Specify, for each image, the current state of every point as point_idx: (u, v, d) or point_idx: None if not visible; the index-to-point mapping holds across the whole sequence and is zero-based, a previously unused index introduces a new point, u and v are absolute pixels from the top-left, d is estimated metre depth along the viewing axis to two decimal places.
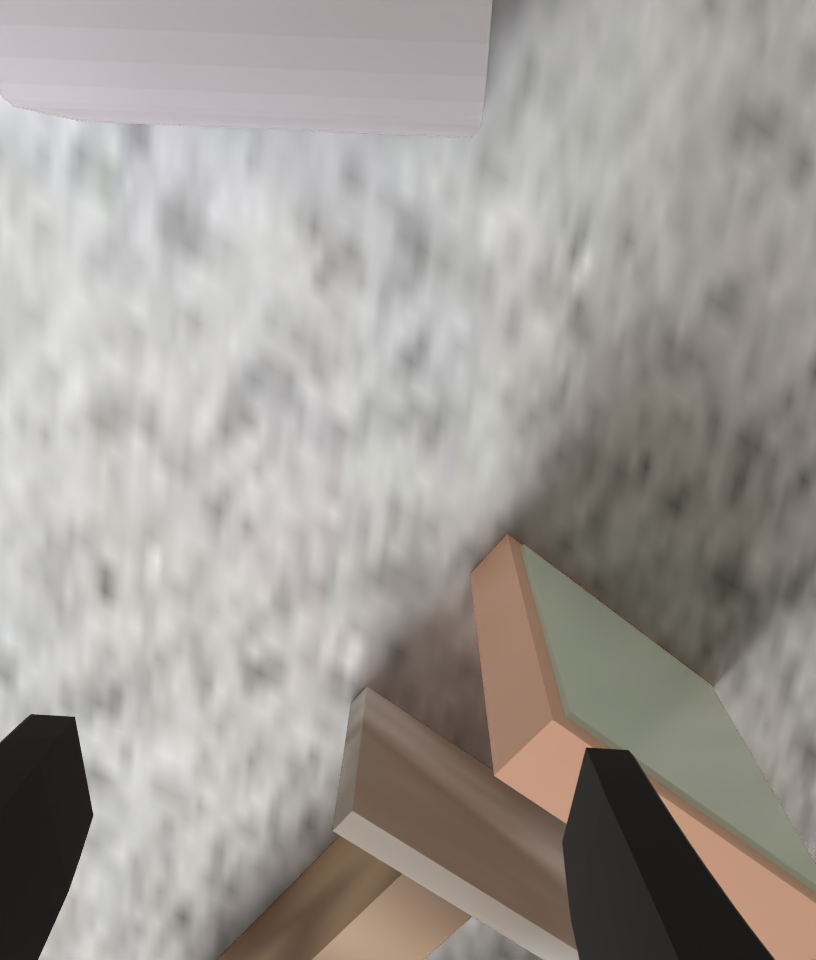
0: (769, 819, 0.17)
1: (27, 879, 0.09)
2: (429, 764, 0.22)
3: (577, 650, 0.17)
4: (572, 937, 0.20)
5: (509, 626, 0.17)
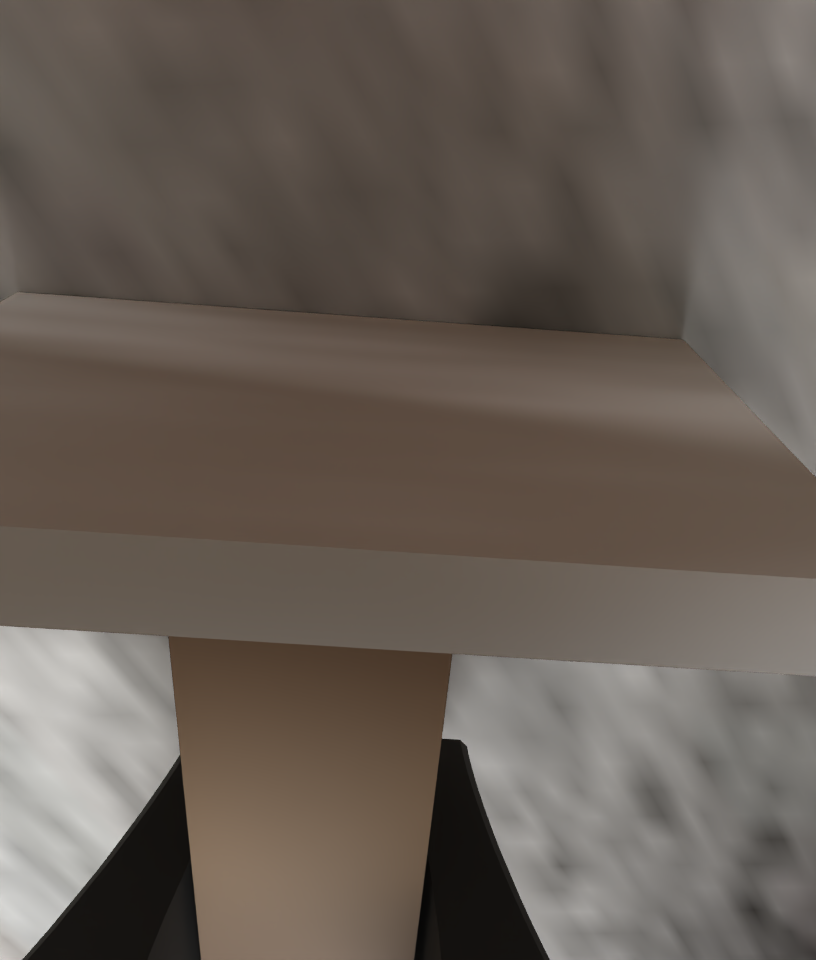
0: None
1: None
2: (181, 352, 0.08)
3: None
4: (767, 548, 0.05)
5: None
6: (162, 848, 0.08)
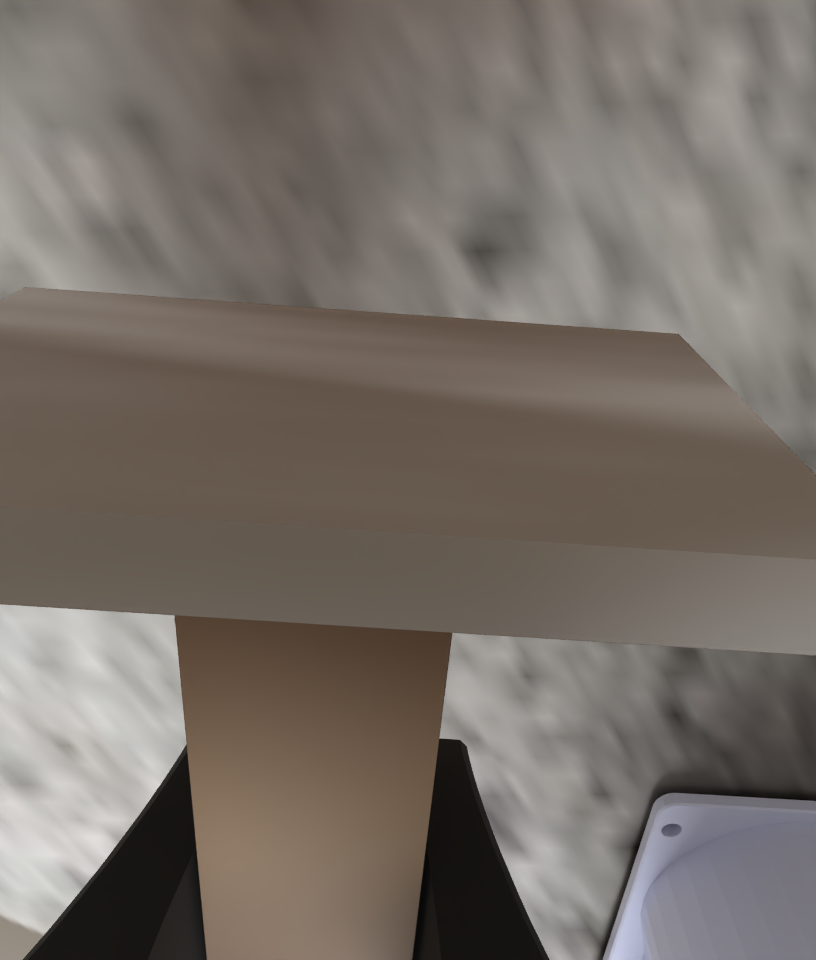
0: None
1: None
2: (186, 345, 0.08)
3: None
4: (756, 530, 0.05)
5: None
6: (162, 848, 0.08)
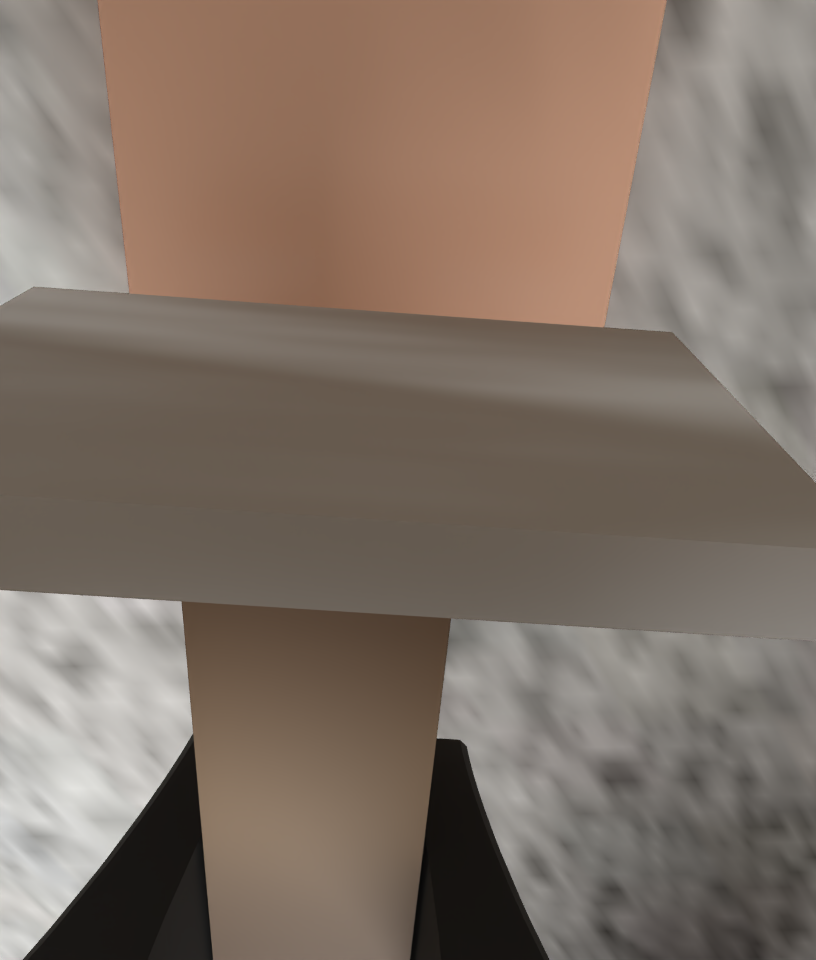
0: None
1: None
2: (192, 343, 0.08)
3: None
4: (742, 519, 0.06)
5: None
6: (162, 848, 0.08)
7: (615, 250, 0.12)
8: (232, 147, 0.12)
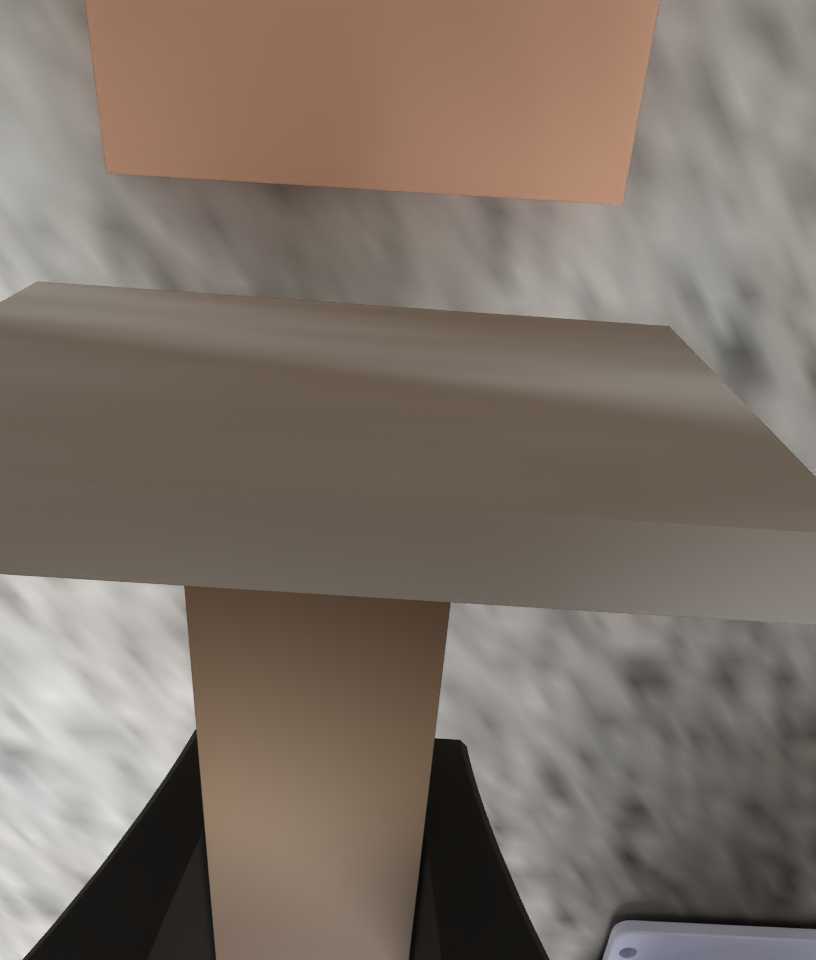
0: None
1: None
2: (194, 335, 0.08)
3: None
4: (736, 504, 0.06)
5: None
6: (162, 848, 0.08)
7: None
8: None
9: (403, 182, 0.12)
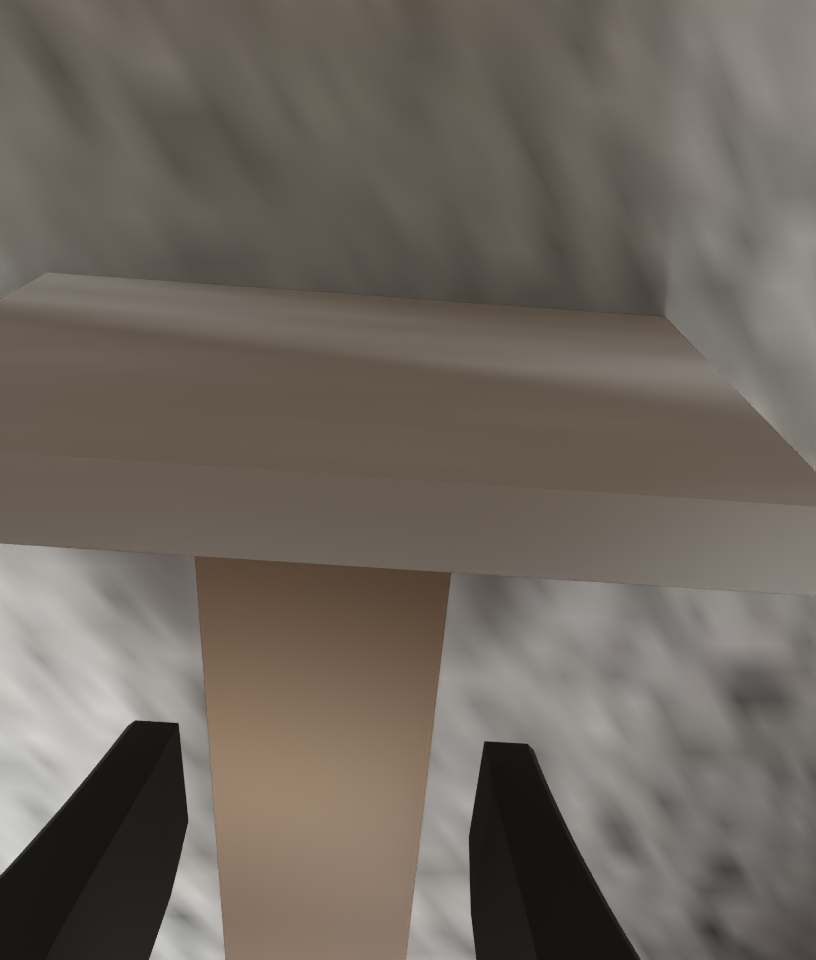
0: None
1: (142, 885, 0.09)
2: (203, 322, 0.09)
3: None
4: (722, 480, 0.06)
5: None
6: (77, 843, 0.08)
7: None
8: None
9: None
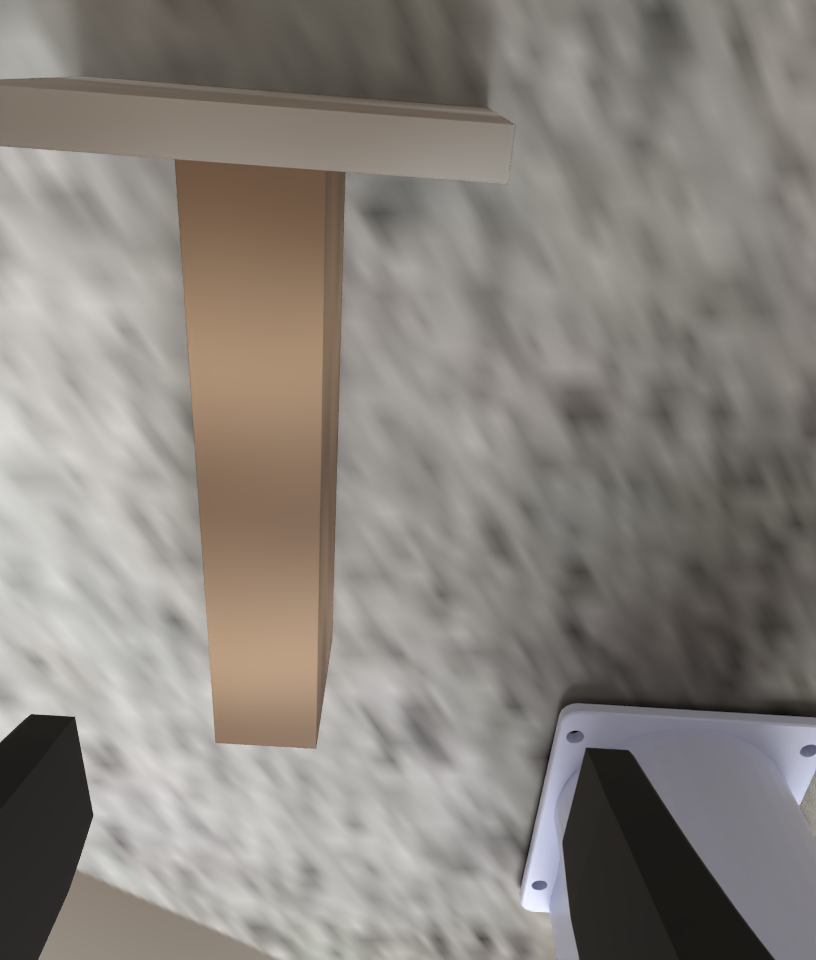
0: None
1: (27, 879, 0.09)
2: (184, 88, 0.14)
3: None
4: (454, 118, 0.11)
5: None
6: None
7: None
8: None
9: None
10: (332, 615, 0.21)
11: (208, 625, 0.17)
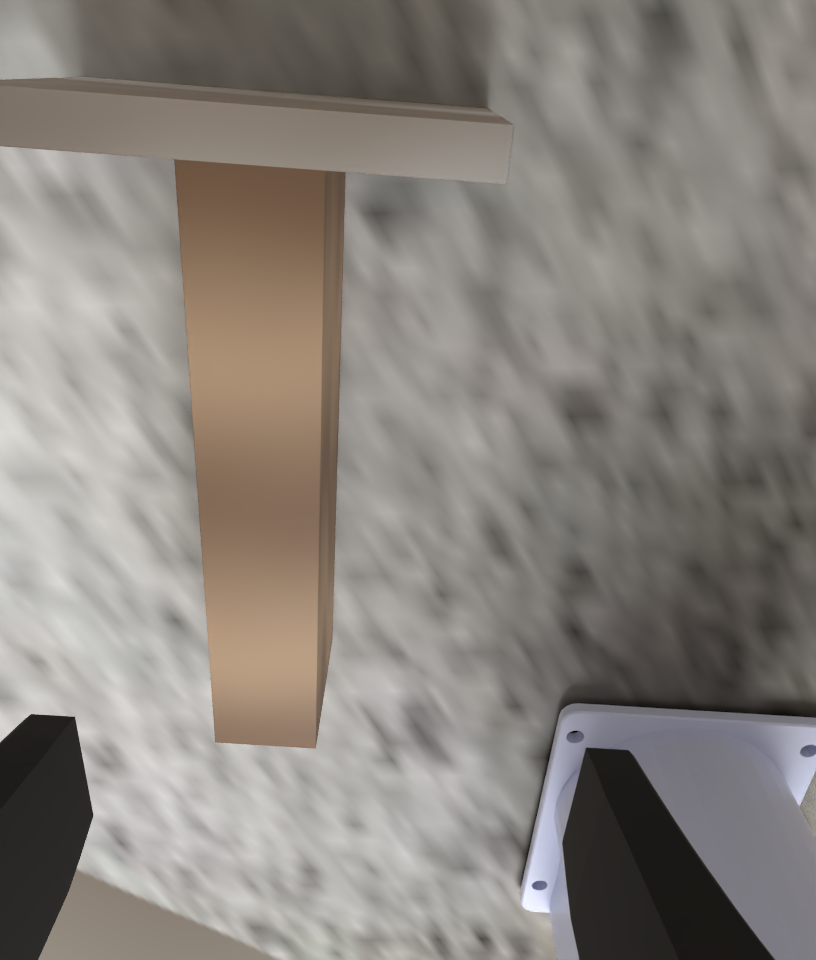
0: None
1: (27, 879, 0.09)
2: (184, 88, 0.14)
3: None
4: (453, 118, 0.11)
5: None
6: None
7: None
8: None
9: None
10: (332, 615, 0.21)
11: (207, 625, 0.17)
